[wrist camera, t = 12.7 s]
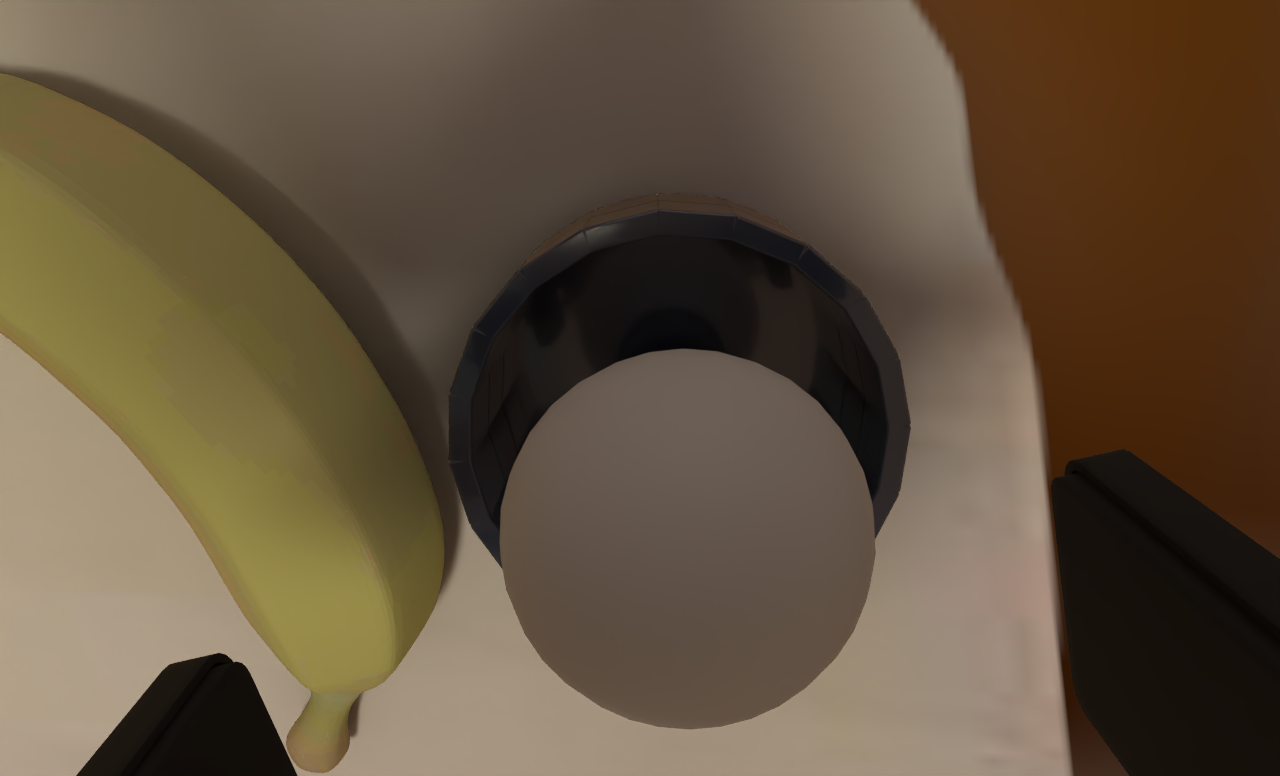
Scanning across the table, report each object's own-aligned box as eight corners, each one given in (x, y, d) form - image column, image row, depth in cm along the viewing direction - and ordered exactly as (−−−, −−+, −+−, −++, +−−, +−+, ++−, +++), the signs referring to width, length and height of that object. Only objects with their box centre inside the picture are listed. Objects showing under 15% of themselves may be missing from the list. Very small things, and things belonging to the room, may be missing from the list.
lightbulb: (708, 221, 21) (764, 322, 10) (840, 420, 22) (1007, 688, 12) (504, 361, 22) (370, 581, 12) (643, 543, 23) (636, 887, 13)
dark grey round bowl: (438, 247, 22) (386, 278, 17) (821, 149, 21) (865, 157, 17) (544, 583, 24) (521, 682, 20) (888, 508, 24) (940, 595, 19)
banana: (52, -48, 13) (463, 858, 21) (273, -53, 18) (540, 687, 26) (-454, 129, 17) (46, 827, 25) (-167, 87, 22) (178, 685, 30)
